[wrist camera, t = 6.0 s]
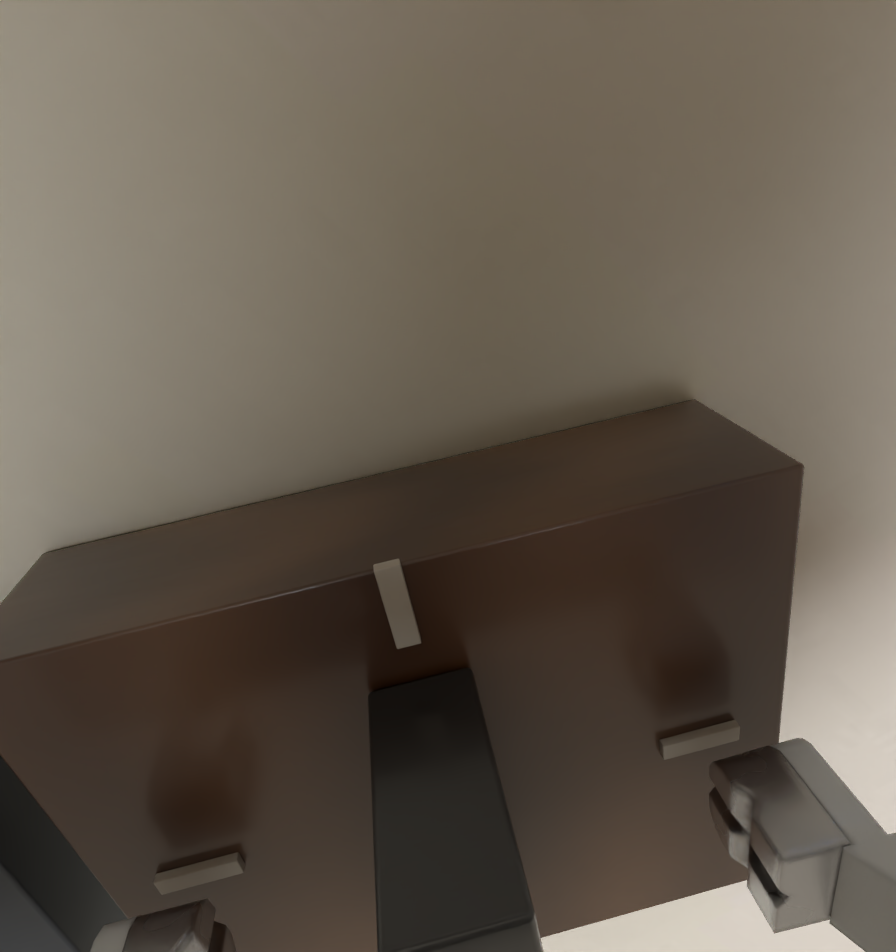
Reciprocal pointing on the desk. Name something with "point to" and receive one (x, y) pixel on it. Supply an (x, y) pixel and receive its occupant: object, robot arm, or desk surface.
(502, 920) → the handle
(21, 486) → the desk surface
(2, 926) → the button block
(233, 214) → the desk surface
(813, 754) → the robot arm
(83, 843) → the panel
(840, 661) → the desk surface
